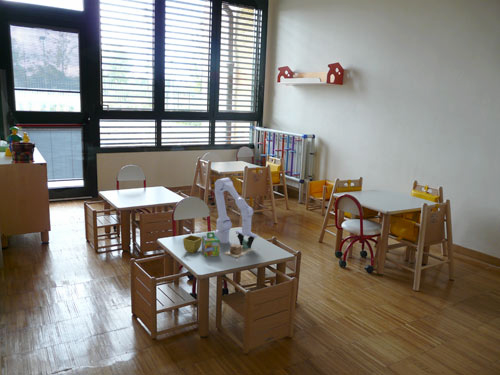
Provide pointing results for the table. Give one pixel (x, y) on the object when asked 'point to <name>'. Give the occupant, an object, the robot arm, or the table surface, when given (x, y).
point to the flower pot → (192, 243)
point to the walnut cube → (235, 249)
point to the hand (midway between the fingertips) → (245, 246)
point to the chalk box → (210, 245)
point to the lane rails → (240, 257)
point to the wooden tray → (244, 249)
